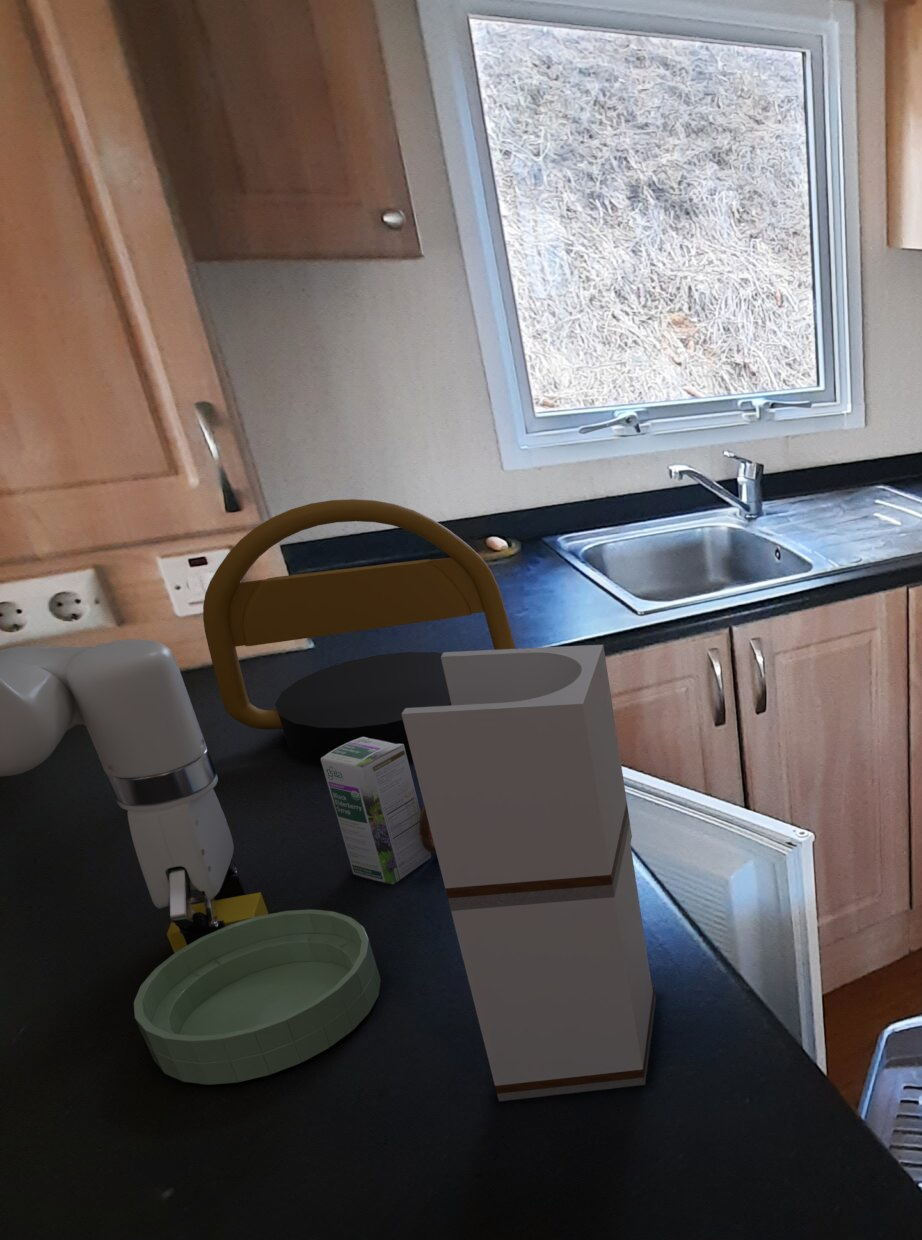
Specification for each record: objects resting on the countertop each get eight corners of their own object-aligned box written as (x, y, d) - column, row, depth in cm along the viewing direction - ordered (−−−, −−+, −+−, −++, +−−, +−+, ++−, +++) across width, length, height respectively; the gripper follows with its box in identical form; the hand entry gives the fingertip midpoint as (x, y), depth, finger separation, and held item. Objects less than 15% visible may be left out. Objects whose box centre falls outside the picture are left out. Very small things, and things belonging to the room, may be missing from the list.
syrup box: (351, 877, 112) (315, 758, 106) (394, 848, 117) (362, 733, 111) (394, 887, 111) (360, 767, 104) (435, 858, 116) (405, 741, 109)
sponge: (178, 963, 99) (166, 934, 98) (188, 936, 103) (177, 907, 101) (263, 946, 102) (253, 917, 100) (270, 920, 105) (261, 891, 104)
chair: (539, 739, 141) (495, 507, 127) (234, 797, 126) (145, 543, 112) (515, 673, 161) (474, 465, 146) (248, 716, 146) (174, 491, 132)
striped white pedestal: (656, 1001, 96) (603, 644, 80) (645, 1088, 86) (583, 703, 70) (525, 1014, 94) (443, 652, 78) (499, 1104, 84) (401, 714, 68)
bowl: (131, 1116, 83) (107, 1064, 80) (181, 981, 97) (162, 934, 94) (374, 1058, 89) (358, 1008, 86) (388, 939, 103) (375, 893, 100)
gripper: (139, 741, 100) (198, 894, 108) (82, 833, 85) (155, 1001, 93) (230, 729, 102) (281, 879, 110) (191, 815, 88) (253, 981, 96)
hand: (223, 934), depth 102 cm, fingers open, 7 cm apart
